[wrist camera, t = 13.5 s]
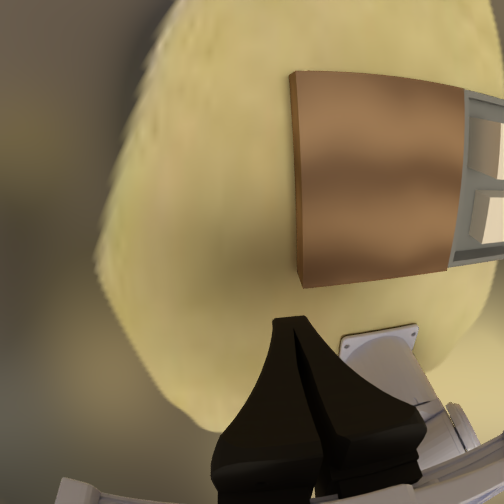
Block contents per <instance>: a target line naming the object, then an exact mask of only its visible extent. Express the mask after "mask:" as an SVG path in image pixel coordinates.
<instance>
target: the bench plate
mask: <svg viewBox="0 0 504 504" xmlns="http://www.w3.org/2000/svg"><path fill="white" fill-rule="evenodd" d="M289 82H290V96H291V111H292V127H293V145H294V166H295V191H296V225H297V272H298V275H299V278H300V281H301V284H302V287H303V289H304V288H314V287H323V286H332V285H341V284H350V283H358V282H367V281H375V280H383V279H391V278H398V277H406V276H413V275H420V274H427V273H434V272H441V271H447V268H448V263H449V258H450V254H451V248H452V243H453V238H454V232H455V226H456V220H457V213H458V206H459V198H460V190H461V180H462V169H463V155H464V130H465V101H464V89H463V88H459V87H454V86H450V85H445V84H440V83H434V82H429V81H423V80H416V79H410V78H403V77H395V76H386V75H377V74H366V73H352V72H332V71H295V72H293V73H292V74H290V75H289Z"/></svg>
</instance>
